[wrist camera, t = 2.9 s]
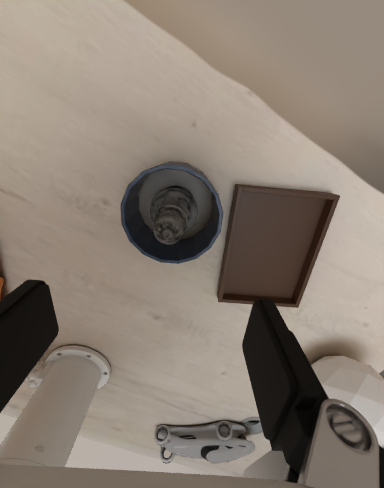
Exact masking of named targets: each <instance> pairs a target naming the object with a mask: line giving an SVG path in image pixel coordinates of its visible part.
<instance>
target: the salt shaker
mask: <svg viewBox="0 0 384 488" xmlns="http://www.w3.org/2000/svg"><path fill="white" fill-rule="evenodd" d="M150 213H151V218H152V220H153V222H154V229H153V230H154V235H155V237H156V238H157V239H158V240H159V241H160V242H161V243H164V244H174V243H176V242H178V241H179V240H180V239H181V237H182V235H183V232H186V231H187V230H189V229H190V228H191V227H192V226H193V224H194V223H195V221H196V219H197V213H198V212H197V205H196V203H195V200H194V199H193V196H192V195H191V193H190V192H189V191H187V190H186V189H185V188H182V187H179V186H171V187H168V188H166V189H165V190H162V191H160V192H159V193H158V194H157V195H156V196H155V197H154V199H153V200H152V203H151V208H150Z"/></svg>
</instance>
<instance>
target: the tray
mask: <svg viewBox="0 0 384 488" xmlns="http://www.w3.org/2000/svg"><path fill="white" fill-rule="evenodd" d="M339 198H340V196H339V195H336V194H332V193H325V192H314V191H303V190H293V189H282V188H271V187H261V186H250V185H239V184H236V185H235V190H234V196H233V202H232V208H231V214H230V220H229V226H228V232H227V238H226V243H225V249H224V255H223V261H222V267H221V273H220V279H219V285H218V291H217V297H218V302H227V303H241V304H253V303H254V301H257V300H258V299H259V298H263V299H272V300H273V301H274V303H275V305H276V306H283V307H297V308H298V307H299V304H300V301H301V299H302V296H303V293H304V291H305V288H306V285H307V283H308V280H309V277H310V275H311V272H312V269H313V267H314V264H315V261H316V259H317V256H318V253H319V251H320V248H321V246H322V243H323V240H324V238H325V235H326V232H327V230H328V227H329V224H330V222H331V219H332V216H333V214H334V211H335V208H336V206H337V203H338V200H339Z"/></svg>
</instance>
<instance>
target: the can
mask: <svg viewBox="0 0 384 488" xmlns="http://www.w3.org/2000/svg"><path fill="white" fill-rule="evenodd" d="M161 169H175V170H185V171H187V172H188V173H190V174H192V175H194V176H196V177H197V178H199V179H201V180H203V182H204V183H205V184H206V185H207V187H208V188H209V189H210V190H211V193H212V197H213V200H214V204H213V211H212V217H211V218H210V220H209V222H208V223H207V225H206V227H205V228H204V229H203V230H202V231H200V232H199V233H198V234H196V235H195V236H194V237H190V238H187V239H183V240H179V241H178V242H176V243H174V244H164V243H161V242H160V241H159V240H158V239H157V238H156V237H155V235H154V232H153V231H152V230H151V229H150V228H149V227H148V226H147V225H146V224H145V223H144V221H143V219H142V216H141V214H140V212H139V201H138V194H139V192H140V190H141V187H142V185H143V182H144V180H145V179H147V178H148V177H149V176H150V175H151V174H152V173H153V172H155V171H158V170H161ZM222 218H223V211H222V207H221V203H220V199H219V195H218V193H217V191H216V190H215V188H214V187H213V185H212V184H211V183H210V181H209V180H208V179H207V177H206V176H205V175H204V174H203V172H201V171H200V170H198V169H196V168H194V167H193V166H191V165H189V164H187V163H177V162H168V163H165V164H162V165H159V166H156V167H153V168H150V169H148V170H145V171H143V172H142V173H141V174H140V175H139V176H137V177H136V178H135V179H134V180H133V181H132V182H131V183H130V184H129V185H128V187H127V189H126V192H125V194H124V197H123V200H122V202H121V222H122V226H123V228H124V230H125V232H126V234H127V237H128V239H129V241H130V242H131V243H132V244H133V245H134V246H135V247H136V248H137V249H138V250H139V251H140V252H141V253H142V254H144V255H146V256H148V257H150V258H152V259H154V260H157V261H159V262H165V263H182V262H186V261H190V260H193V259H196V258H198V257H199V256H200V255H202V254H203V253H205V252H206V251H207V250H209V249H210V248H211V247H212V245H213V243H214V242H215V240H216V238H217V237H218V235H219V234H220V231H221V224H222Z"/></svg>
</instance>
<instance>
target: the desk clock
mask: <svg viewBox="0 0 384 488" xmlns="http://www.w3.org/2000/svg"><path fill="white" fill-rule="evenodd" d="M3 283H4V279H3V278H1V277H0V301H1V290H2V286H3Z"/></svg>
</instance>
